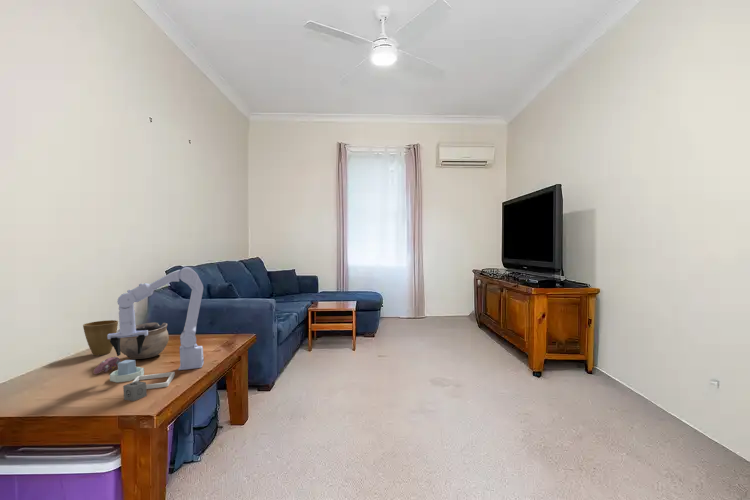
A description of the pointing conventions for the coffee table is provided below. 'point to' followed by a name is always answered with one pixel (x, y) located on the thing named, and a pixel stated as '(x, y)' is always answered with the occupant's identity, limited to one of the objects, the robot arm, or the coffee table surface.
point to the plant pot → (100, 336)
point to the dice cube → (134, 391)
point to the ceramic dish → (123, 378)
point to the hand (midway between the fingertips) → (129, 354)
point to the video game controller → (107, 365)
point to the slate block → (126, 367)
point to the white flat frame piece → (157, 385)
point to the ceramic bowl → (146, 341)
